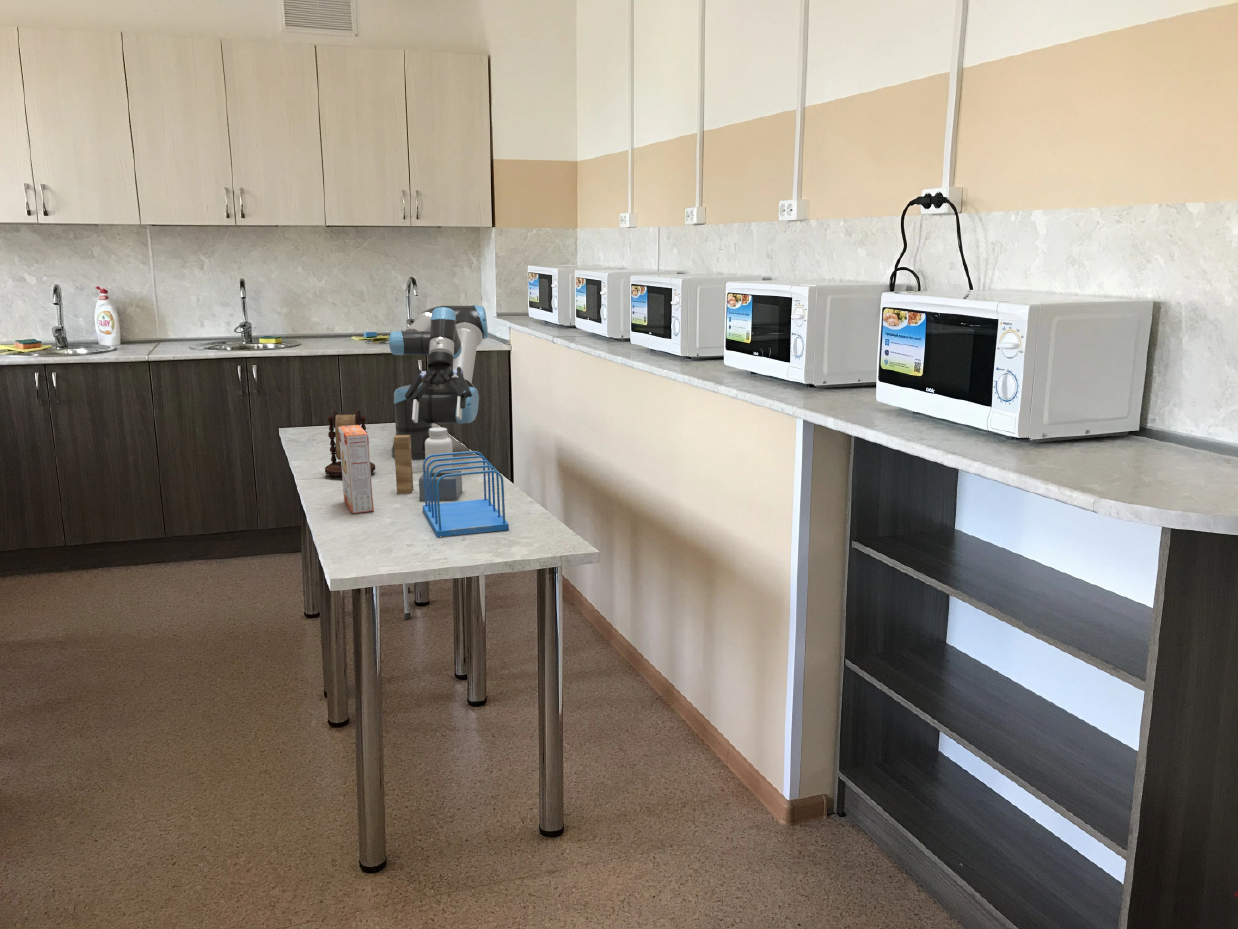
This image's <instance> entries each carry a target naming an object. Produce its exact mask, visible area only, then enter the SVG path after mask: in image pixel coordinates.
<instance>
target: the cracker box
mask: <svg viewBox="0 0 1238 929" xmlns="http://www.w3.org/2000/svg"><path fill="white" fill-rule="evenodd" d="M338 430H339V442H340V454H341V460H340V461H341V466H342V476H341V477H342V478H341V479H342V488H343V489H342V490H343V500H344V503H345V504H346V505H347V508H348V510H349V511H350V512H351V514H352V513H357V514H363V513H370V512H371V511H372V512H374V498H373V497H374V496H373V488H372V487H373V484H372V483H373V482H372V472H371V468H370V462H371V459H370V457H371V456H370V440H369V434H368V432H367V433H366V432H365V431H366V430H365V431H364V430H363V429H362V428H361V424H360V425H351V426H340V427H338ZM362 512H363V513H362Z"/></svg>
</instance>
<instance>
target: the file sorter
mask: <svg viewBox="0 0 1238 929" xmlns="http://www.w3.org/2000/svg"><path fill="white" fill-rule="evenodd" d="M470 454H476V455H470ZM446 455H453V457H452V458H441V459H434V460H432V461H430V462H429V463H428V465H427V468H426V461H427V460H428V459H429V458H431V457H436V456H446ZM457 455H458V456H457ZM459 455H463V456H459ZM464 455H465V456H464ZM466 455H467V456H466ZM465 459H481V460H467V461H457V460H465ZM445 460H453V463H443V464H437V465H435V466H433V467H432V469H431V470H430V473H429V466H430V465H431V464H432V463H433V462H436V461H445ZM454 461H457V462H454ZM480 463H481V464H482V465H481V464H480ZM468 464H480V465H472V466H460V467H458V465H468ZM448 465H453V466H456V465H457V467H453V468H447V469H441V470H439V471H437V472H436V473H435V475H434V477H433V491H434V501H433V491H432V471H433V470H434V469H435V468H436V467H439V466H448ZM472 469H482V470H480V471H479V470H478V471H477V470H476V471H469V472H468V471H467V472H465V471H464V470H472ZM422 470H423V471H422V475H424V491H425V501H424V504H422V512H423V514H424V516H425V517H426V520H427V522H428V523H429V525H430V526H431V528H433V529H432V530H433V532H434V534H435V536H436V538H441V537H440V536H446V537H453V536H452V535H455V536H462V535H461V534H464V535H472V534H480V533H482V534H483V533H491V532H501V531H502V532H503V531H509V529H510V528H509V526H510V525H509V523H508V520H506V509H505V489H504V488H505V487H504V478H503V475H502V474H501V473H500V472H499V471H498V470H497V468H496V467H495V466H493V464H492V463H491V462H490V461H489V460H488V459H487V458H486V457H485V456H484V455H483V454H482V453H481V452H479V451H476V450H471V451H459V452H453V453H443V454H433V455H429V456H428V457H427V458H426V459H425V458H424V460H423V463H422ZM452 470H453V471H462V470H463V471H464V472H462V473H455V474H446V475H443V476H441V477H440V478H439V479H438V481H437V484H436V485H435V479H436V476H437V475H438V474H439V473H440V472H443V471H452ZM425 471H426V473H425ZM479 474H480V475H481V474H483V498H481V499H470V500H469V499H468V500H461V501H460V500H459V501H458V500H457V501H452V502H451V501H447V502H440V501H439V482H440V481H441V480H442V479H443V478H445V477H450V476H460V475H462V476H469V475H479ZM486 474H487V478H486ZM426 477H427V489H426ZM495 477H496V478H495ZM429 478H430V490H429ZM499 478H500V479H499ZM486 479H487V480H486ZM495 479H496V486H495ZM491 487H492V489H491ZM495 487H496V488H495ZM500 487H501V488H500ZM495 489H496V491H495ZM500 489H501V496H500ZM491 490H492V491H491ZM436 491H437V501H436ZM487 491H488V495H487ZM491 492H492V493H491ZM495 492H496V493H495ZM427 494H428V501H427ZM491 494H492V495H491ZM430 495H431V501H430ZM495 495H496V496H495ZM487 496H488V498H487ZM496 497H497V499H496ZM500 497H501V498H500ZM491 499H492V500H491ZM496 500H497V501H496ZM500 500H501V501H500ZM496 502H497V508H496ZM500 502H501V503H500ZM501 508H502V509H501ZM501 510H502V512H501Z"/></svg>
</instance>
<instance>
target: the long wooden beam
mask: <svg viewBox="0 0 1238 929" xmlns="http://www.w3.org/2000/svg"><path fill="white" fill-rule="evenodd" d="M393 442H394V451H395V458H394V464H395V465H394V466H395V481H396V482H395V484H396V494H412V493H413V492H414V477H413V473H414V472H413V461H412V460H413V459H412V455H411V437H410V435H396V434H395V435H394V436H393ZM412 491H413V492H412Z"/></svg>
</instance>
